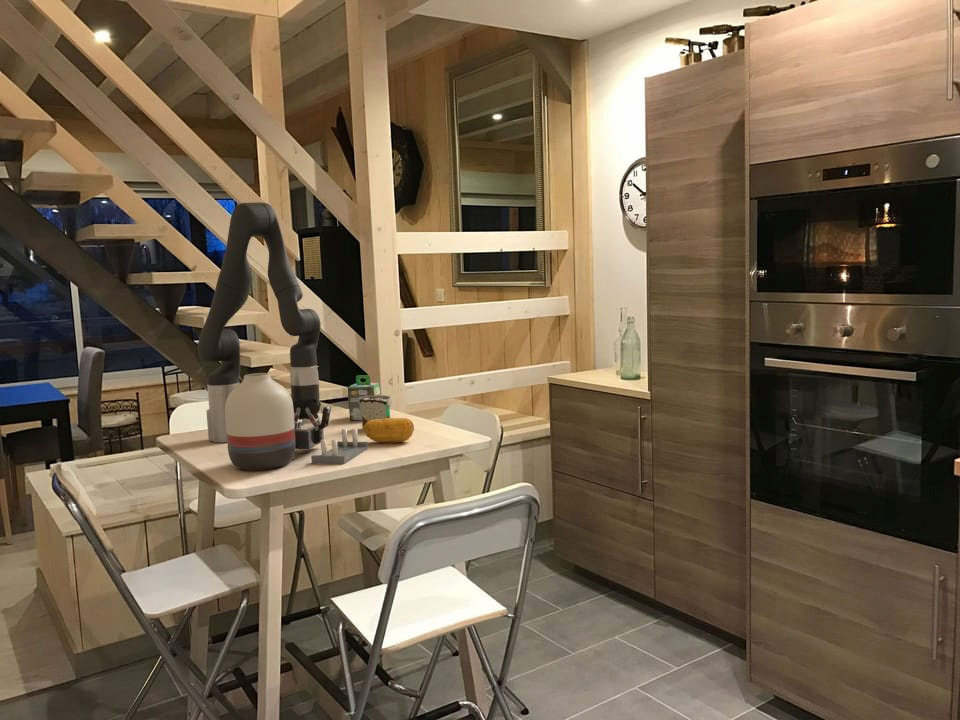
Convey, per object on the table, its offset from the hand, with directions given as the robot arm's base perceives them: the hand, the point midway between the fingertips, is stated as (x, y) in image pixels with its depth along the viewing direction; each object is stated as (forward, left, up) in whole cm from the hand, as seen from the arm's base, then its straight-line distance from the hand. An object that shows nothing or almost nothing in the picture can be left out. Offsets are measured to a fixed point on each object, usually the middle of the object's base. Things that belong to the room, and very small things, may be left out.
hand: (307, 442), depth 214 cm
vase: (-5, -16, -3) cm, 17 cm away
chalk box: (-2, +49, -3) cm, 49 cm away
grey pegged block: (+11, -4, -3) cm, 12 cm away
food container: (+9, +33, -3) cm, 34 cm away
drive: (0, 0, -1) cm, 1 cm away
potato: (+19, +13, -3) cm, 23 cm away
